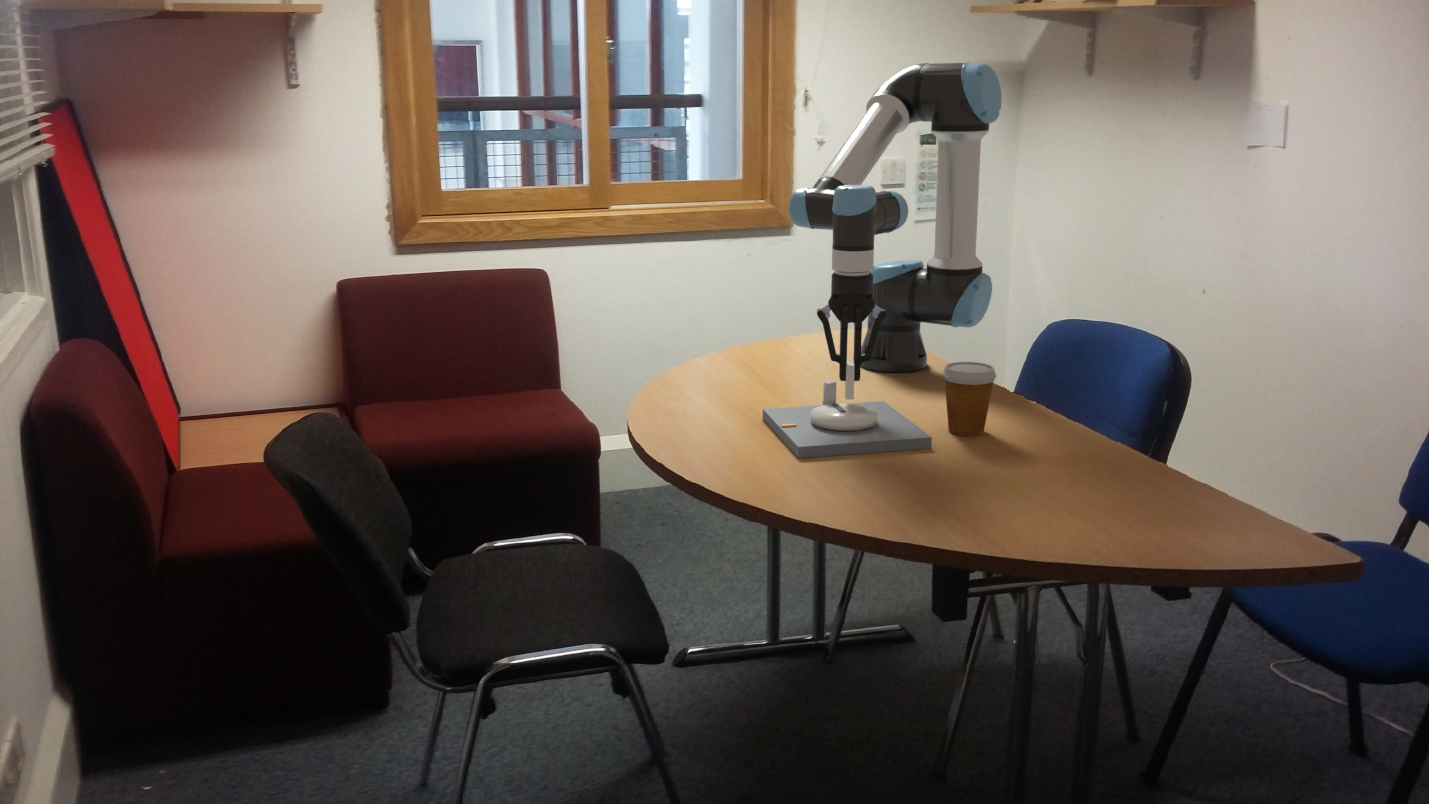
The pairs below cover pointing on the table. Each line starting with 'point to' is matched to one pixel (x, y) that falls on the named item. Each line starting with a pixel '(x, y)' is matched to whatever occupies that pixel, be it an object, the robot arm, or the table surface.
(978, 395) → the disposable coffee cup
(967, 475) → the table surface
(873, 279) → the robot arm
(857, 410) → the dial
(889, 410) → the panel
